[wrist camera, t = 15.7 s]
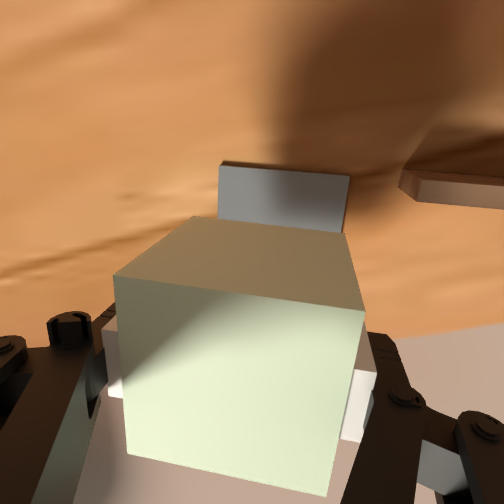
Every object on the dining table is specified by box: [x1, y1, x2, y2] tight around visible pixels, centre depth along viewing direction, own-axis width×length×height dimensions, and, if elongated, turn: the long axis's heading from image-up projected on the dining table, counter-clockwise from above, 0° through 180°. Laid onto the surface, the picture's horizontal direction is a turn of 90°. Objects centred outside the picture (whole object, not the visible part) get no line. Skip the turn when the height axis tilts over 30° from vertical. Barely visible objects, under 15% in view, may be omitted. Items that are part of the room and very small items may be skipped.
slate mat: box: [218, 165, 350, 233], centre depth 25 cm, size 9×9×1 cm
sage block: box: [113, 216, 366, 497], centre depth 14 cm, size 7×7×7 cm
